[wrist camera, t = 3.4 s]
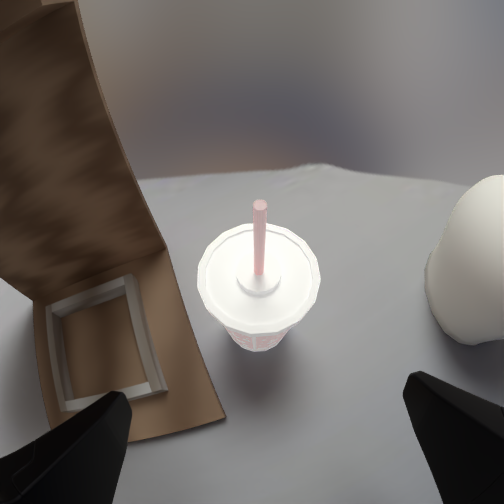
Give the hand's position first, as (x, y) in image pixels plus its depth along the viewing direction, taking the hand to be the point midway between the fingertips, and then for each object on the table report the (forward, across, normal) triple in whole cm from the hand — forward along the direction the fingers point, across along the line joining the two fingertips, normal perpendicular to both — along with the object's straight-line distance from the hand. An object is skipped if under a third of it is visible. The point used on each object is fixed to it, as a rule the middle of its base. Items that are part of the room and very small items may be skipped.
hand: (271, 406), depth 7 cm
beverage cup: (+14, 0, +5) cm, 14 cm away
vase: (+14, -22, +4) cm, 26 cm away
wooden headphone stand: (+12, +13, +6) cm, 18 cm away
